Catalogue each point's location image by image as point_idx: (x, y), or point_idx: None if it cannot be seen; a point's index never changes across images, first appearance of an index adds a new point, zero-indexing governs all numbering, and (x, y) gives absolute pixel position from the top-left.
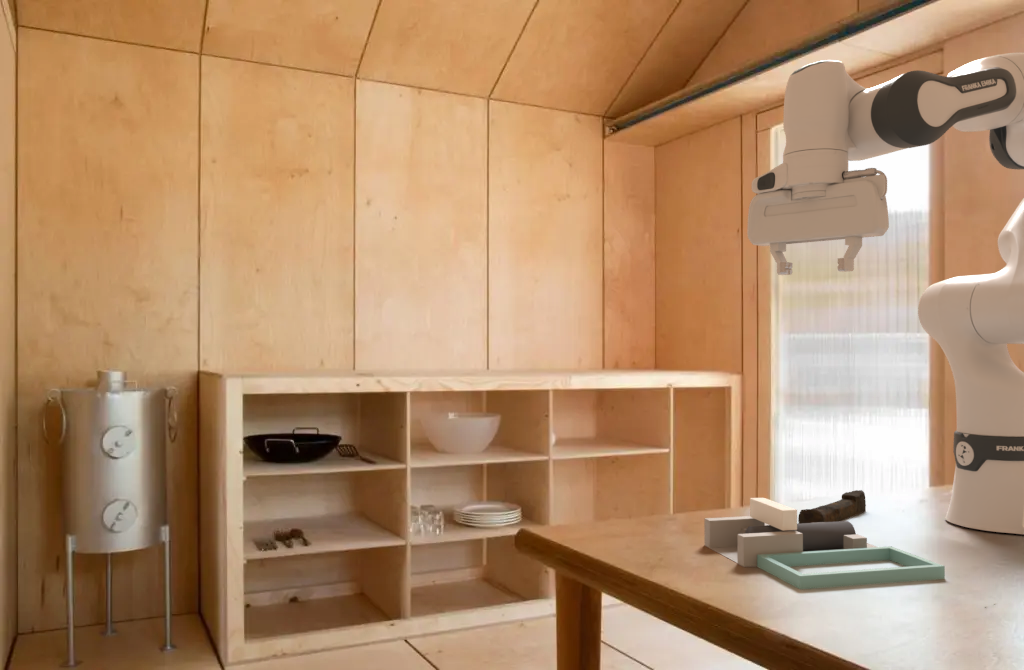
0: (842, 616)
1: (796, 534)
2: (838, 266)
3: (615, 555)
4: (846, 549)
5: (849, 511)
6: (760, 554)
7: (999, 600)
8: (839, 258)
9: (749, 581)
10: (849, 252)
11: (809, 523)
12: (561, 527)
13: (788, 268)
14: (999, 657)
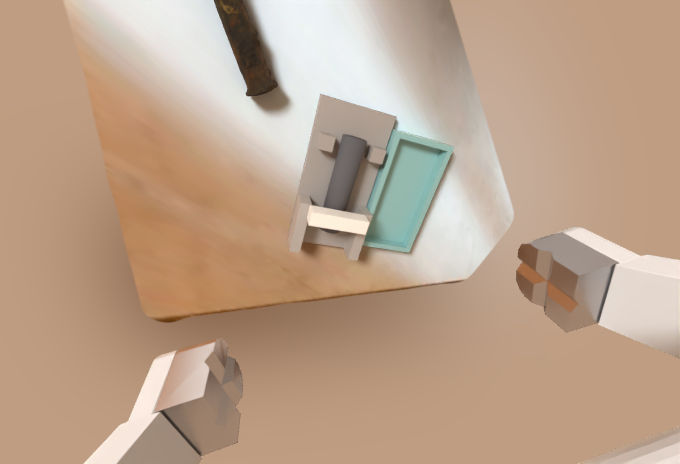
0: (434, 243)
1: (370, 221)
2: (535, 301)
3: (262, 292)
4: (383, 175)
5: None
6: None
7: (480, 133)
8: (575, 329)
9: None
10: (663, 333)
11: (346, 181)
12: (149, 293)
13: (220, 383)
14: (509, 221)
